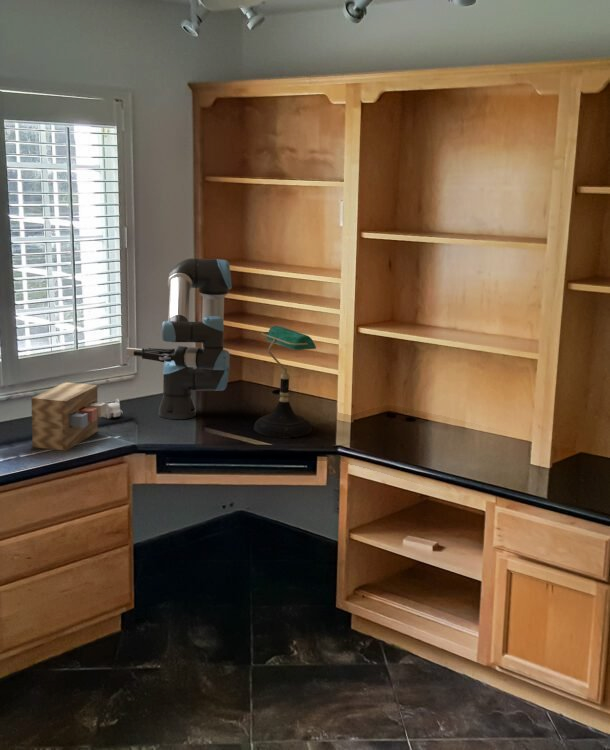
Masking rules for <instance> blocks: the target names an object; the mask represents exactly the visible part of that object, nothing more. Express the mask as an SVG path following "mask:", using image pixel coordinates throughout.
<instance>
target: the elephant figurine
mask: <svg viewBox="0 0 610 750" xmlns="http://www.w3.org/2000/svg"><path fill="white" fill-rule="evenodd" d="M102 403H106V415H104V416H102V417H103V418H106V419H108V420H109V419H112V418H117V417H120V416H121V413H122V414H123V410H121V404H120V400H119V398H115V400H114V402H110V403H109V402H108V403H107V402H106V401H102V402H101V404H102Z"/></svg>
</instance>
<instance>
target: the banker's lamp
mask: <svg viewBox="0 0 610 750" xmlns="http://www.w3.org/2000/svg"><path fill="white" fill-rule="evenodd" d="M261 336H264V337H266V340H267V341H269V342H270V345H269V346H268V348H267V352H268V354H269V356H270V357H271V358H272V359H273V360H274V361H275V362H276V363H277V364H278V365H279V366H280V367H281V369H282V371H283V373H281V374H280V377H279V378H280V385H279V386H280V388H279V395H280V397H279V401H278V403H277V406H276V407H275V408H274V410H273V411H272V413H268V414H265V415H263V416H261V417H260V418H258V419H257V420H256V421H255V422H254V426H253V430H254V431H255V432H256V433H258V434H259V435H262V436H266V437H271V438H277V437H278V439H291V438H290V437H296V438H299V437H298V436H302V437H304V436H303V435H306V434H308V435H310V434H311V433H312V432H311V431H313V429H312V427H313V426H312V424H311V422H310V421H309V420H308V418H304V417H303V416H301V415H297V414H296V413H295V412H294V410H293V408H292V407H291V403H290V401H289V395H290V394H289V393H290V389H289V388H290V374H289V373H288V369H287V367H284V366H283V364H282V363H281V362H280V361H279V360H278V359H277V358H276V357H275V356H274V354H272V352H271V349H272V347H273V346H274V344H277V345H279V346H282V347H285V348H288V349H291V350H294V351H298V350H299V351H302V350H303V351H304V350H315V349H317V347H316V344H315V342H314V340H313V339H312V337H310V336H309V335H307V334H305V333H301V332H298V331H295V330H292V329H289V328H287V327H283V326H279V325H273V326H272V327H271V326H270V327H269V329H268V331H263V332H261ZM310 432H311V433H310ZM309 433H310V434H309ZM306 436H307V435H306Z"/></svg>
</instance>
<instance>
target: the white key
mask: <svg viewBox="0 0 610 750" xmlns="http://www.w3.org/2000/svg"><path fill="white" fill-rule="evenodd" d="M106 403H107V402H106ZM106 403H102V402H101V403H100V402H98V403H90V404H89V408H91V409H93V408H97V416H98V418H102V417H103V416H104V415H106Z"/></svg>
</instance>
